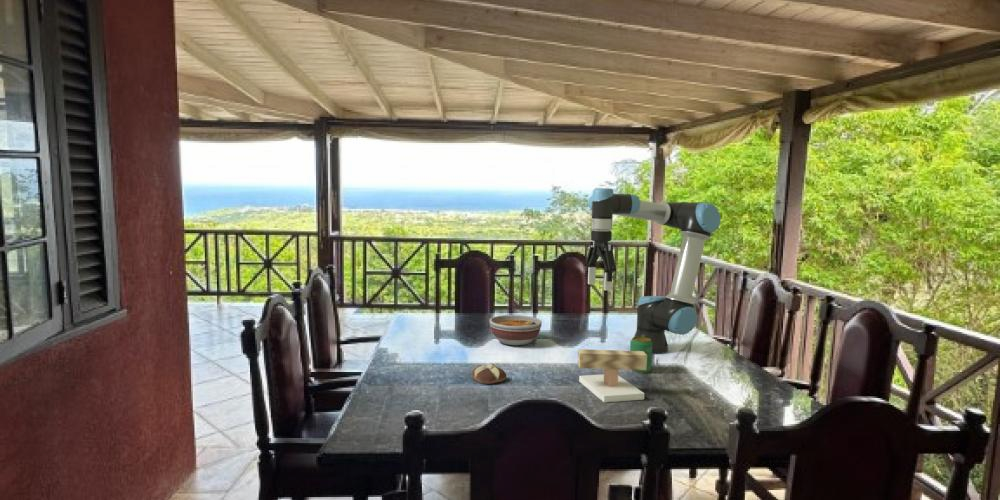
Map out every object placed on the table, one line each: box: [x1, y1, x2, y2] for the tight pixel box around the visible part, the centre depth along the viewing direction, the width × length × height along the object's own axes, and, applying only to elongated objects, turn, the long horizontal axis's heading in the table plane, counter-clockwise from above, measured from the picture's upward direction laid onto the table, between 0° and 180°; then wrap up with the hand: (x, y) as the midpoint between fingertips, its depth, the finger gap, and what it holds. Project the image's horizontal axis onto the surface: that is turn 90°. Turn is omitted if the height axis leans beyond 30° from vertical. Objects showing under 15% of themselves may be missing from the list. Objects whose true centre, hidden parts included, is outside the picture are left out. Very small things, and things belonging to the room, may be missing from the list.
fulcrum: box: [578, 369, 645, 403], centre depth 183 cm, size 14×20×8 cm
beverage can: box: [629, 336, 653, 374], centre depth 206 cm, size 8×8×12 cm
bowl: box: [489, 314, 543, 346], centre depth 240 cm, size 23×23×10 cm
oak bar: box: [577, 348, 647, 371], centre depth 183 cm, size 22×5×5 cm, turn 89°
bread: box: [471, 363, 507, 385], centre depth 191 cm, size 11×11×5 cm
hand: (599, 287), depth 204 cm, fingers open, 13 cm apart
